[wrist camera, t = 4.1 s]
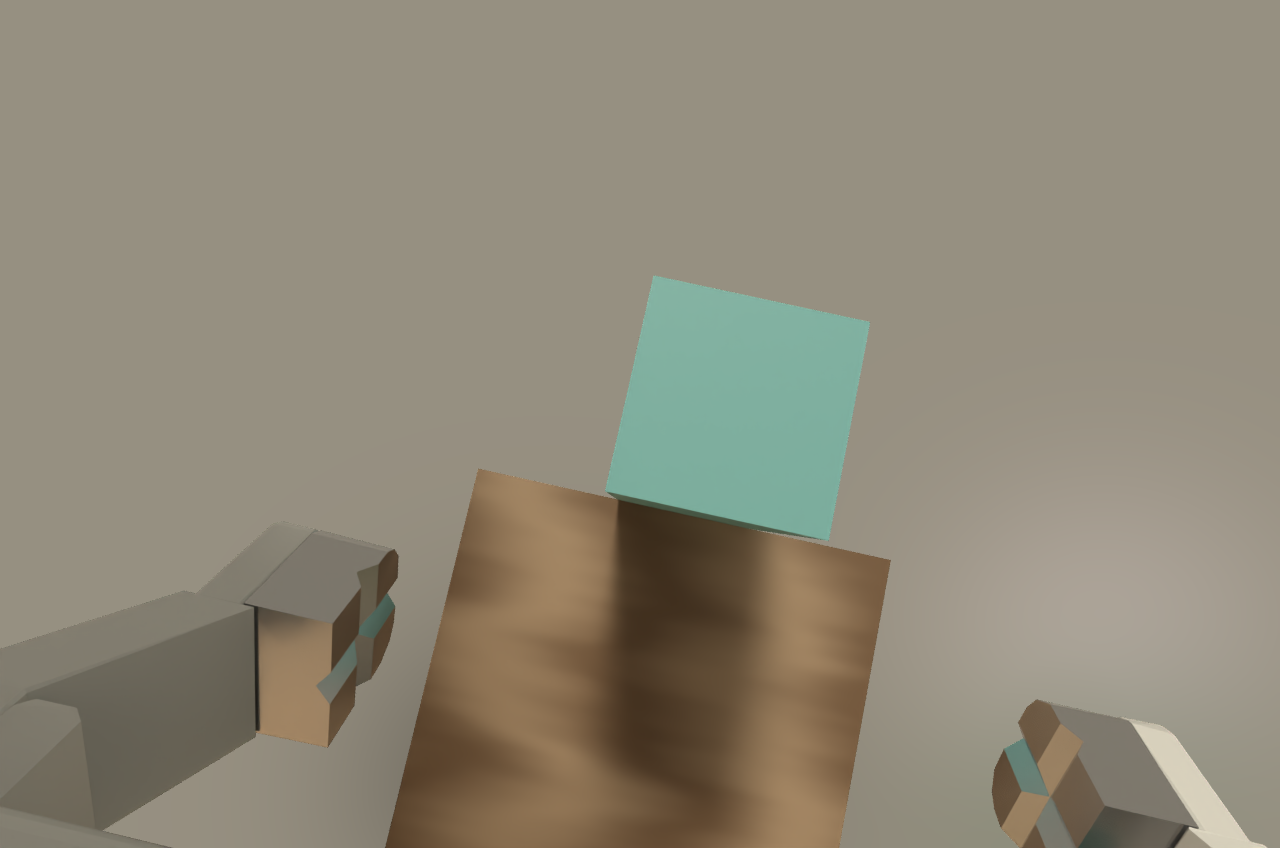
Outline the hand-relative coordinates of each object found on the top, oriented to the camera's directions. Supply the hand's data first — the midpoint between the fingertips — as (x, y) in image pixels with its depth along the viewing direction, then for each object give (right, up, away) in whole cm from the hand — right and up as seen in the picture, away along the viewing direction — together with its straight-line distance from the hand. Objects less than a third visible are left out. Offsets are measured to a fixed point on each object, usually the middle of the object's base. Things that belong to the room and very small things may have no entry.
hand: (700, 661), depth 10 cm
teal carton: (0, 0, +14) cm, 14 cm away
